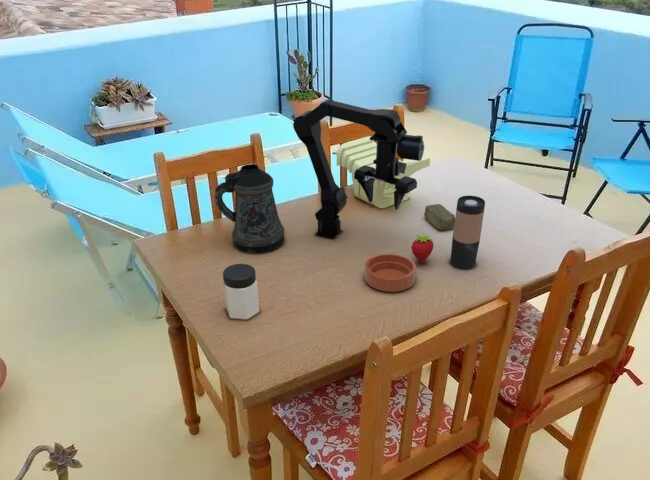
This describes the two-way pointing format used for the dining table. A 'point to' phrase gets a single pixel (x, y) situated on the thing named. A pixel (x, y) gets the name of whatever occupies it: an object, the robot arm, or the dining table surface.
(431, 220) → the stone block
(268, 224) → the beer stein
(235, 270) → the jar
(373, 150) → the slatted curved stool
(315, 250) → the dining table surface
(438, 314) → the dining table surface
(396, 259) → the pot
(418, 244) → the strawberry
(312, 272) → the dining table surface
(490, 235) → the dining table surface
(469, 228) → the travel mug
